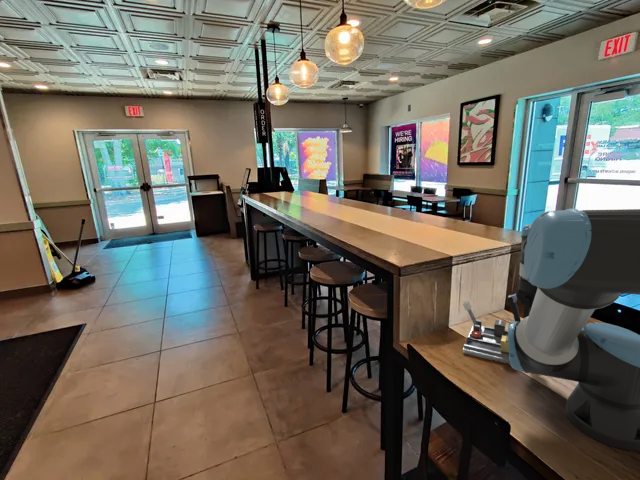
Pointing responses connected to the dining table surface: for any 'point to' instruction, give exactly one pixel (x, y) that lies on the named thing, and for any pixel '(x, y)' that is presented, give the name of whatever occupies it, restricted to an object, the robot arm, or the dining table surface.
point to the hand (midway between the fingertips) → (528, 349)
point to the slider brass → (504, 345)
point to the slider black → (499, 328)
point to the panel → (485, 343)
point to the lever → (470, 311)
